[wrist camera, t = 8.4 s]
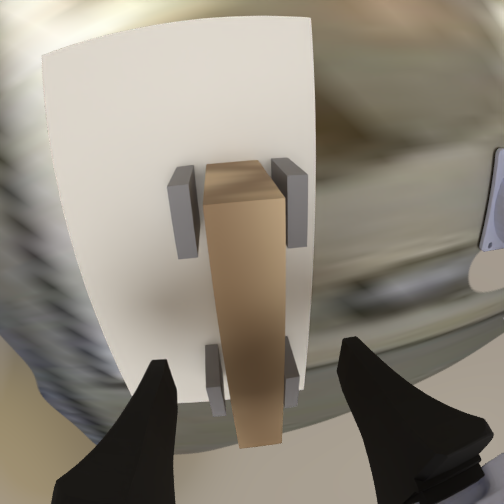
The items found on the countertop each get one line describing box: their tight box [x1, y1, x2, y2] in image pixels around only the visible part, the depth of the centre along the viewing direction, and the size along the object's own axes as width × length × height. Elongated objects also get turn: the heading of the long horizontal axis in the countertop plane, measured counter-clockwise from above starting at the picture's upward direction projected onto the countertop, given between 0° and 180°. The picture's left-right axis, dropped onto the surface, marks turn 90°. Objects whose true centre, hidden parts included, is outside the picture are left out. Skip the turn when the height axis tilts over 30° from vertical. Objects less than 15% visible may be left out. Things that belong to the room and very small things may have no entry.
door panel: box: [203, 160, 286, 449], centre depth 15 cm, size 2×14×6 cm, turn 3°
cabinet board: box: [42, 16, 316, 417], centre depth 15 cm, size 13×24×4 cm, turn 3°
